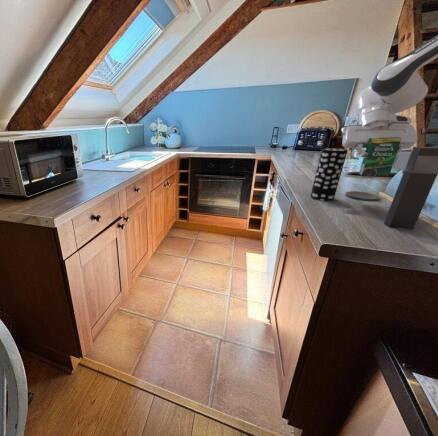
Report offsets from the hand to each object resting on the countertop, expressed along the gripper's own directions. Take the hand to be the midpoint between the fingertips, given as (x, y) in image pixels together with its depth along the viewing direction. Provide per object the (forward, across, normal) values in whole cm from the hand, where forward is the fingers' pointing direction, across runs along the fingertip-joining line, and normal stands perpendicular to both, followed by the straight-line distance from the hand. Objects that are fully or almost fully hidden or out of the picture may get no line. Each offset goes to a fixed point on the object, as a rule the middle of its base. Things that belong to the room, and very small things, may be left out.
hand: (380, 156), depth 83 cm
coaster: (+2, +6, +25) cm, 26 cm away
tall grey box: (+23, +3, +4) cm, 23 cm away
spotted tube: (+6, -10, +22) cm, 25 cm away
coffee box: (+5, 0, +6) cm, 7 cm away
